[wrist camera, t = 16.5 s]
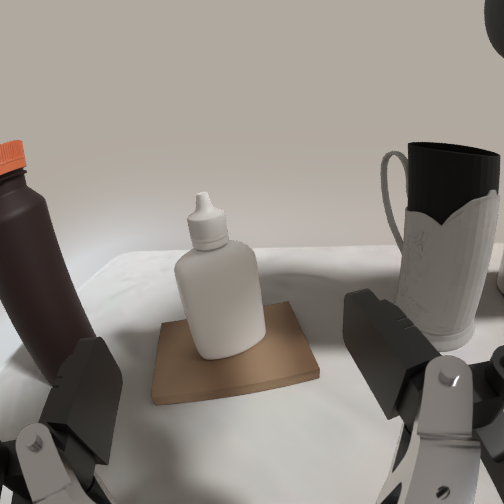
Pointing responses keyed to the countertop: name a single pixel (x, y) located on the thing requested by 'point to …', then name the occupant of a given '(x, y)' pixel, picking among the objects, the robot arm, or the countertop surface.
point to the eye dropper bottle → (219, 286)
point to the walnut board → (232, 362)
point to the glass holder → (445, 236)
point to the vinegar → (35, 271)
